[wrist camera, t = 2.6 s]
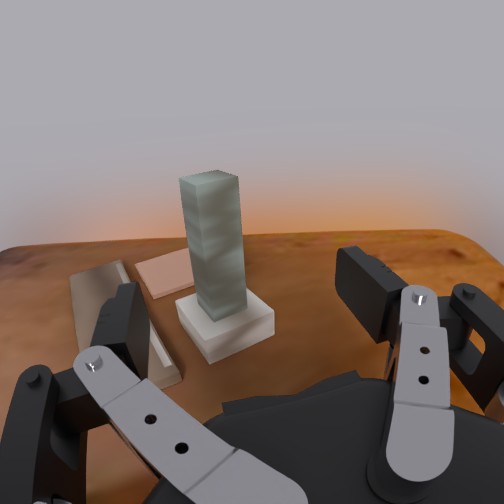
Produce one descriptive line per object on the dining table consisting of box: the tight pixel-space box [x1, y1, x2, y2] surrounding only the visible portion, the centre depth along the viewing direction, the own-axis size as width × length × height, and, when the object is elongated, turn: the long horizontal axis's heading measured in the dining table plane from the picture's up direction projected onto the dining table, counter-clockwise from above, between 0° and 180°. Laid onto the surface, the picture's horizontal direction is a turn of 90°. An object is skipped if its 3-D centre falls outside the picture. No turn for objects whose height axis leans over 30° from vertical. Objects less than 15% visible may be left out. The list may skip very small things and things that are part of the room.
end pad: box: [135, 248, 195, 299], centre depth 35 cm, size 8×8×1 cm
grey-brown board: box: [69, 260, 182, 390], centre depth 27 cm, size 7×21×1 cm, turn 33°
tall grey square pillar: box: [175, 170, 275, 364], centre depth 23 cm, size 6×6×13 cm
